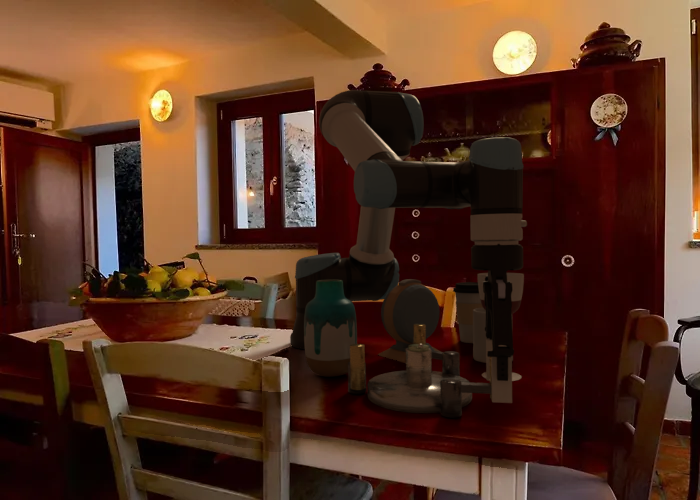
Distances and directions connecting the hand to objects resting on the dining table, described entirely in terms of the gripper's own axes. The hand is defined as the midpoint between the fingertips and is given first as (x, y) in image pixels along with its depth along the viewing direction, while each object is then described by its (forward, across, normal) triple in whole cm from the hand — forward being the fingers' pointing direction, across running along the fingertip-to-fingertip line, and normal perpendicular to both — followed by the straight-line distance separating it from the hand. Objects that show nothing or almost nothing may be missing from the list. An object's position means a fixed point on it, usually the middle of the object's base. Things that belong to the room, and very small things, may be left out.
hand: (498, 390), depth 77 cm
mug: (+5, +39, -2) cm, 39 cm away
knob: (+4, +6, +23) cm, 24 cm away
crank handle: (+4, +21, +10) cm, 23 cm away
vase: (+4, +20, +31) cm, 37 cm away
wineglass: (+4, +24, -3) cm, 24 cm away
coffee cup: (+4, +56, +2) cm, 57 cm away
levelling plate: (+4, +10, +12) cm, 16 cm away
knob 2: (+4, 0, +4) cm, 5 cm away
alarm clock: (+5, +39, +16) cm, 43 cm away
